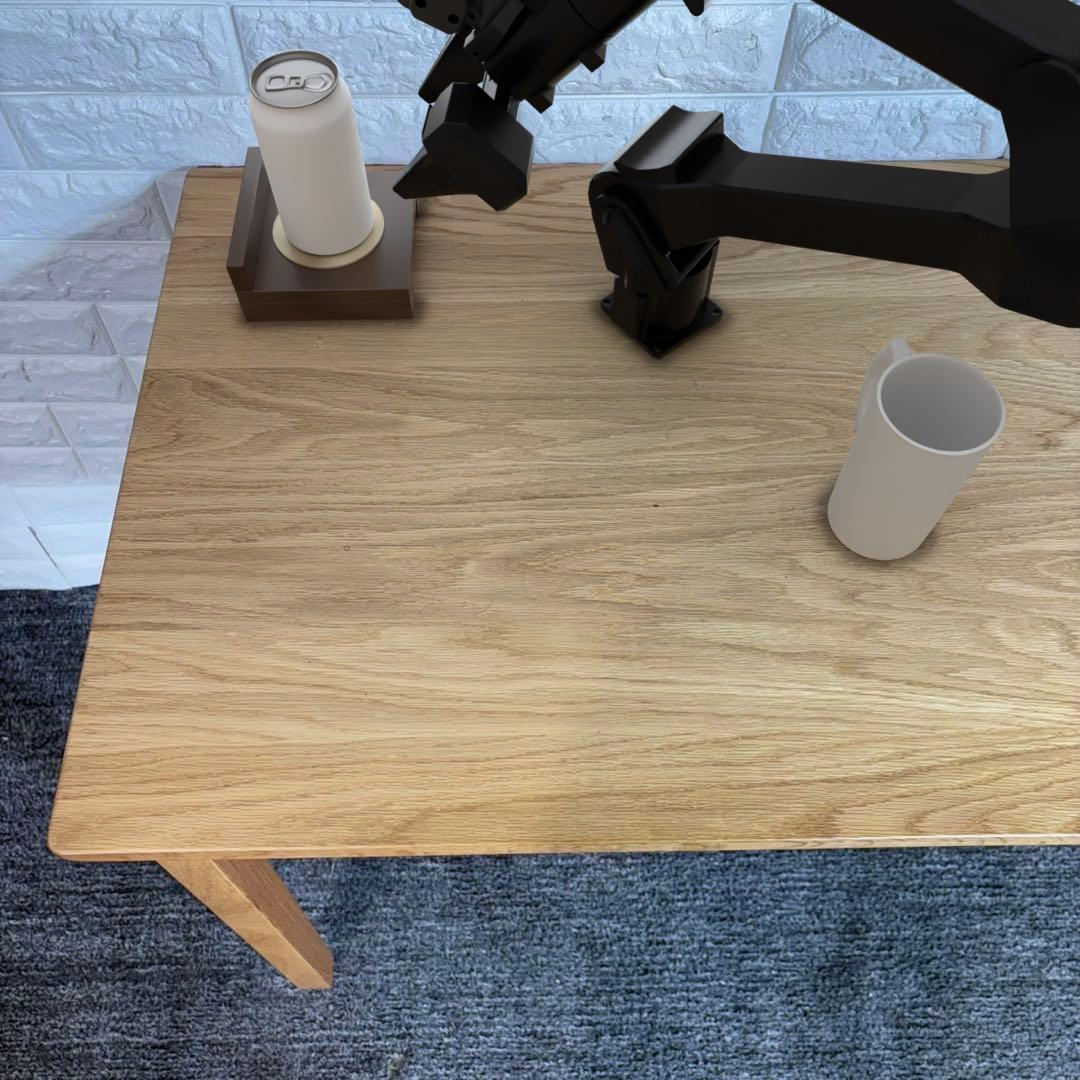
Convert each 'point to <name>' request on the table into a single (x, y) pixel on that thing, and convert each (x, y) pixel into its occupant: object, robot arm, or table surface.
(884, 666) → the table surface
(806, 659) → the table surface
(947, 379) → the mug
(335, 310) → the coaster holder tray
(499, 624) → the table surface
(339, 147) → the can
